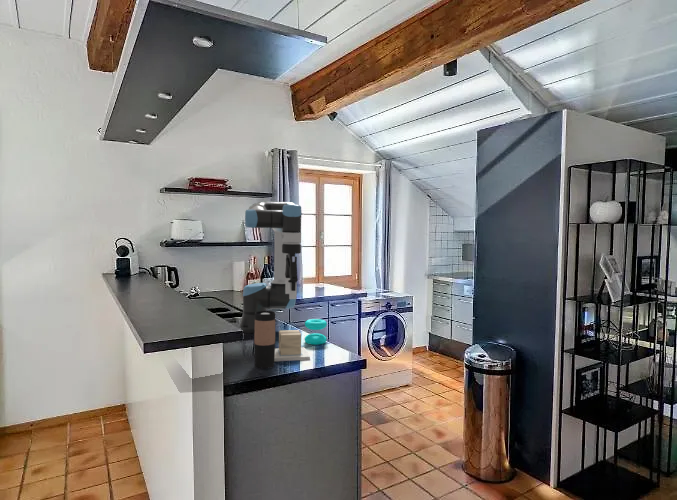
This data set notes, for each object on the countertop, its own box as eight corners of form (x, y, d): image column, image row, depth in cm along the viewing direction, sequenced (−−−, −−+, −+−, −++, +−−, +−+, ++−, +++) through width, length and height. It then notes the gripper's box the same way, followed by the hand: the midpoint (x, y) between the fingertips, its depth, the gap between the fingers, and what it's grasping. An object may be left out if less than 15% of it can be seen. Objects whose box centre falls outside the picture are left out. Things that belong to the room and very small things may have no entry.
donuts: (301, 319, 202) (321, 317, 206) (301, 341, 202) (320, 339, 207) (310, 323, 193) (330, 321, 197) (309, 346, 193) (330, 344, 198)
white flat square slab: (271, 351, 184) (271, 348, 184) (304, 350, 187) (304, 346, 187) (273, 361, 170) (273, 357, 170) (309, 359, 173) (309, 356, 173)
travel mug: (249, 366, 163) (250, 312, 162) (264, 361, 170) (264, 309, 169) (264, 370, 159) (265, 315, 158) (279, 365, 165) (279, 312, 164)
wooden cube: (278, 349, 181) (279, 330, 181) (298, 349, 183) (298, 329, 183) (280, 355, 174) (281, 335, 173) (300, 354, 175) (301, 334, 175)
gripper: (279, 242, 188) (278, 291, 189) (285, 244, 163) (284, 301, 164) (296, 242, 189) (295, 291, 190) (305, 244, 165) (304, 301, 166)
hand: (290, 296), depth 177 cm, fingers open, 13 cm apart
